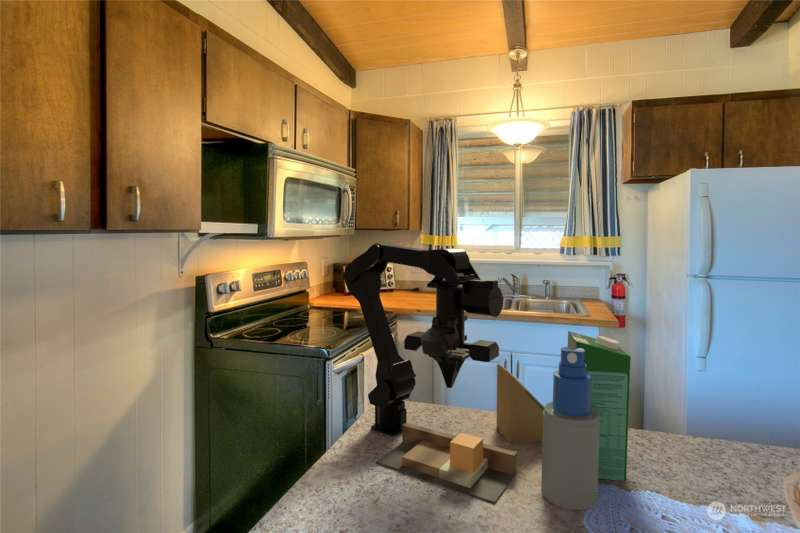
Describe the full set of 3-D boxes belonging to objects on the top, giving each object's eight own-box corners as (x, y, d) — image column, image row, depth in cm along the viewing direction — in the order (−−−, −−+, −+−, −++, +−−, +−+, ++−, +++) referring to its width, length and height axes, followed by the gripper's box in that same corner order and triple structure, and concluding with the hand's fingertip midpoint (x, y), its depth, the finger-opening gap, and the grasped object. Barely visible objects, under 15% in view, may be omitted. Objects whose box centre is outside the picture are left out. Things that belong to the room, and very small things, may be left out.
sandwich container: (578, 440, 95) (580, 372, 94) (509, 444, 93) (510, 374, 92) (559, 423, 104) (561, 360, 103) (496, 426, 102) (497, 362, 101)
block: (449, 466, 80) (450, 442, 80) (460, 455, 84) (460, 432, 84) (472, 473, 78) (473, 448, 77) (482, 462, 82) (483, 438, 81)
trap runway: (375, 463, 85) (375, 442, 85) (405, 440, 94) (406, 422, 94) (494, 503, 72) (495, 480, 72) (516, 473, 81) (516, 452, 81)
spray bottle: (595, 516, 69) (600, 358, 67) (536, 500, 73) (539, 351, 72) (599, 487, 77) (603, 345, 75) (546, 474, 81) (549, 340, 79)
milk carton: (626, 481, 79) (631, 343, 77) (572, 476, 81) (576, 340, 79) (612, 456, 88) (617, 332, 86) (564, 452, 89) (567, 330, 88)
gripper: (389, 312, 87) (389, 390, 88) (478, 322, 77) (477, 410, 78) (417, 305, 96) (417, 375, 97) (500, 313, 86) (499, 391, 87)
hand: (449, 387), depth 90 cm, fingers closed
